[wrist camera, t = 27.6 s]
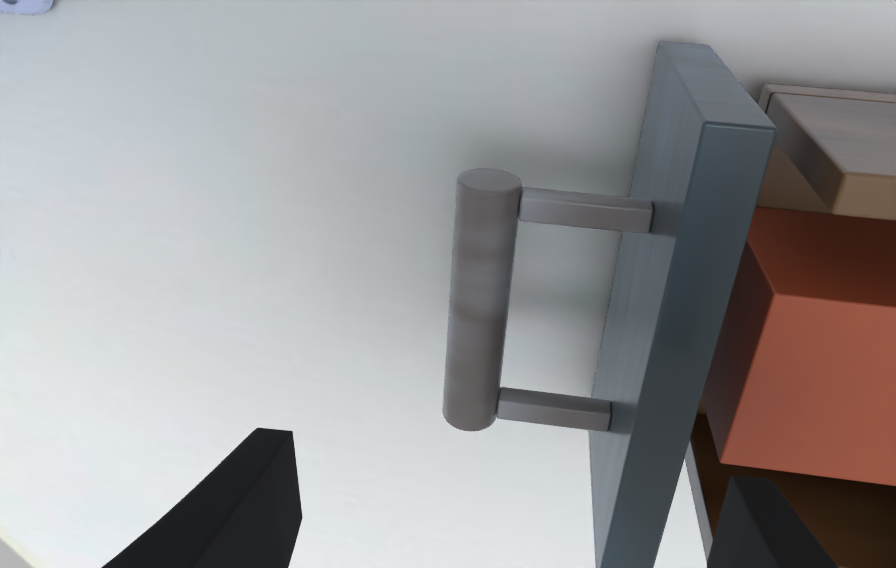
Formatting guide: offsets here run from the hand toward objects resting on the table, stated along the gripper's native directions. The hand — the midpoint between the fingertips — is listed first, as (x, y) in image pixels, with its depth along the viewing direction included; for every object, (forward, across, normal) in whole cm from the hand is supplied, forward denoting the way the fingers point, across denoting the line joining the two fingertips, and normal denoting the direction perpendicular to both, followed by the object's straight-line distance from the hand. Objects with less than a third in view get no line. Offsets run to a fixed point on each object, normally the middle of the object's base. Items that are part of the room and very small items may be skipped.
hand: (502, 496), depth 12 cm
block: (+8, -7, 0) cm, 11 cm away
